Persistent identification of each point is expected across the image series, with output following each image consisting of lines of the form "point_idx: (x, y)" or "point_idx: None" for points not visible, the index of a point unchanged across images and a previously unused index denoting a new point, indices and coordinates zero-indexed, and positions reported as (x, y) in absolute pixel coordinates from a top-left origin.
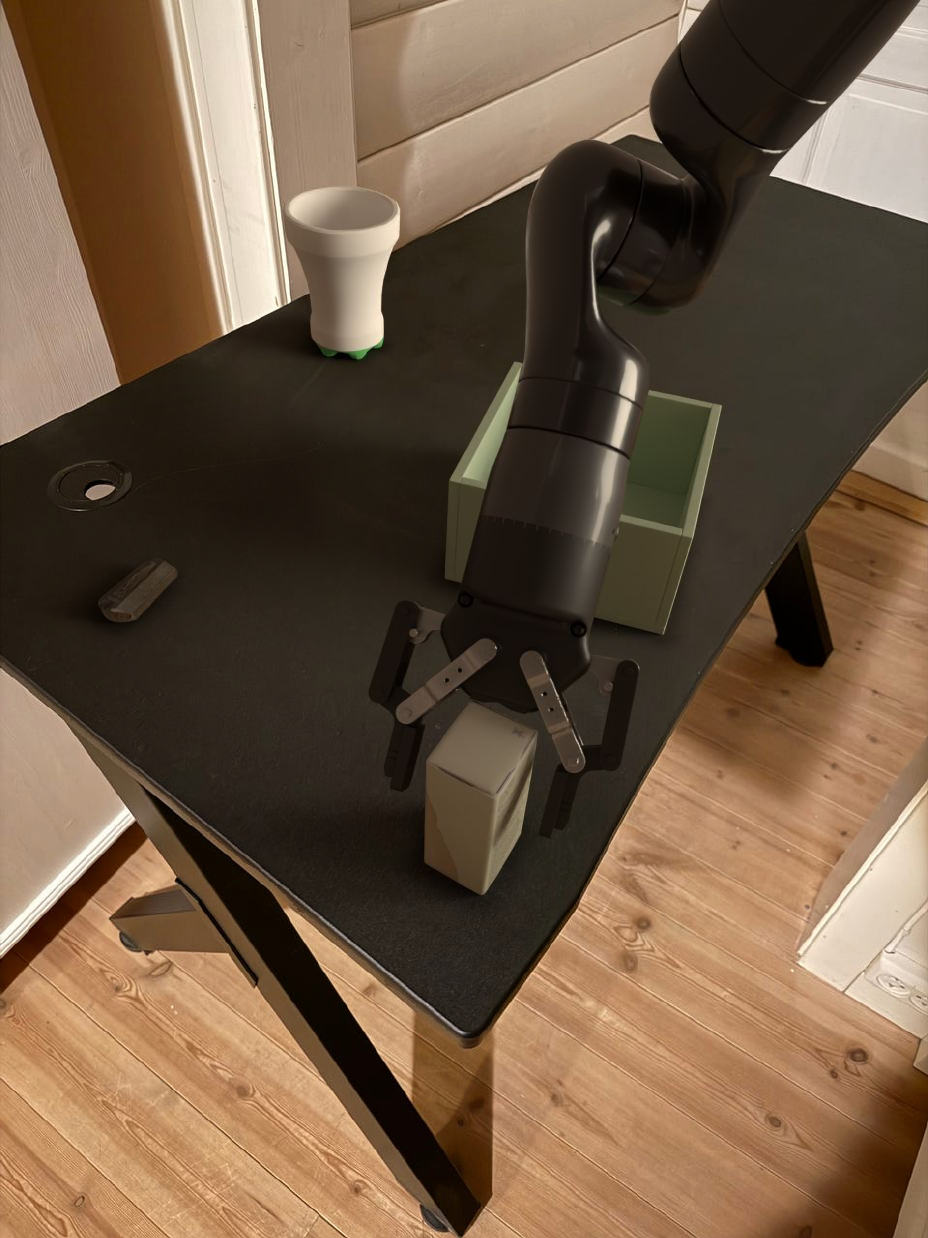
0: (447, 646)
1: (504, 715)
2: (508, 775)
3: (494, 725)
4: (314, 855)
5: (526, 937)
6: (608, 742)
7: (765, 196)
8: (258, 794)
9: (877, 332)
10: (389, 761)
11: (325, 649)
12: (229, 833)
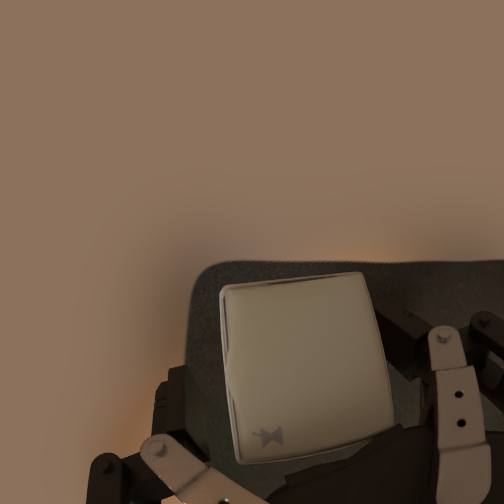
0: (501, 433)
1: (321, 451)
2: (227, 342)
3: (322, 418)
4: (376, 290)
5: (194, 343)
6: (110, 489)
7: None
8: (436, 296)
9: None
10: (400, 310)
11: (489, 416)
12: (423, 263)
